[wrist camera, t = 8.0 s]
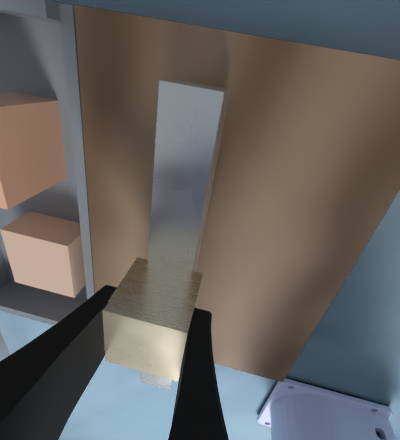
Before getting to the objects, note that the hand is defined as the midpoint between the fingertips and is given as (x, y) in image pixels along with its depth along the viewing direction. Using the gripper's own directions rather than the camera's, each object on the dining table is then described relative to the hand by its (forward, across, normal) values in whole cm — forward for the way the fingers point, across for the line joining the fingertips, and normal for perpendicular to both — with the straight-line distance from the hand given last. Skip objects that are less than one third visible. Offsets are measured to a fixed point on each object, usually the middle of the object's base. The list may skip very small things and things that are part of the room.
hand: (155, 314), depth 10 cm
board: (+7, -2, 0) cm, 7 cm away
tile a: (+5, +8, -4) cm, 10 cm away
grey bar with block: (+4, 0, 0) cm, 4 cm away
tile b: (+7, +9, +4) cm, 12 cm away
